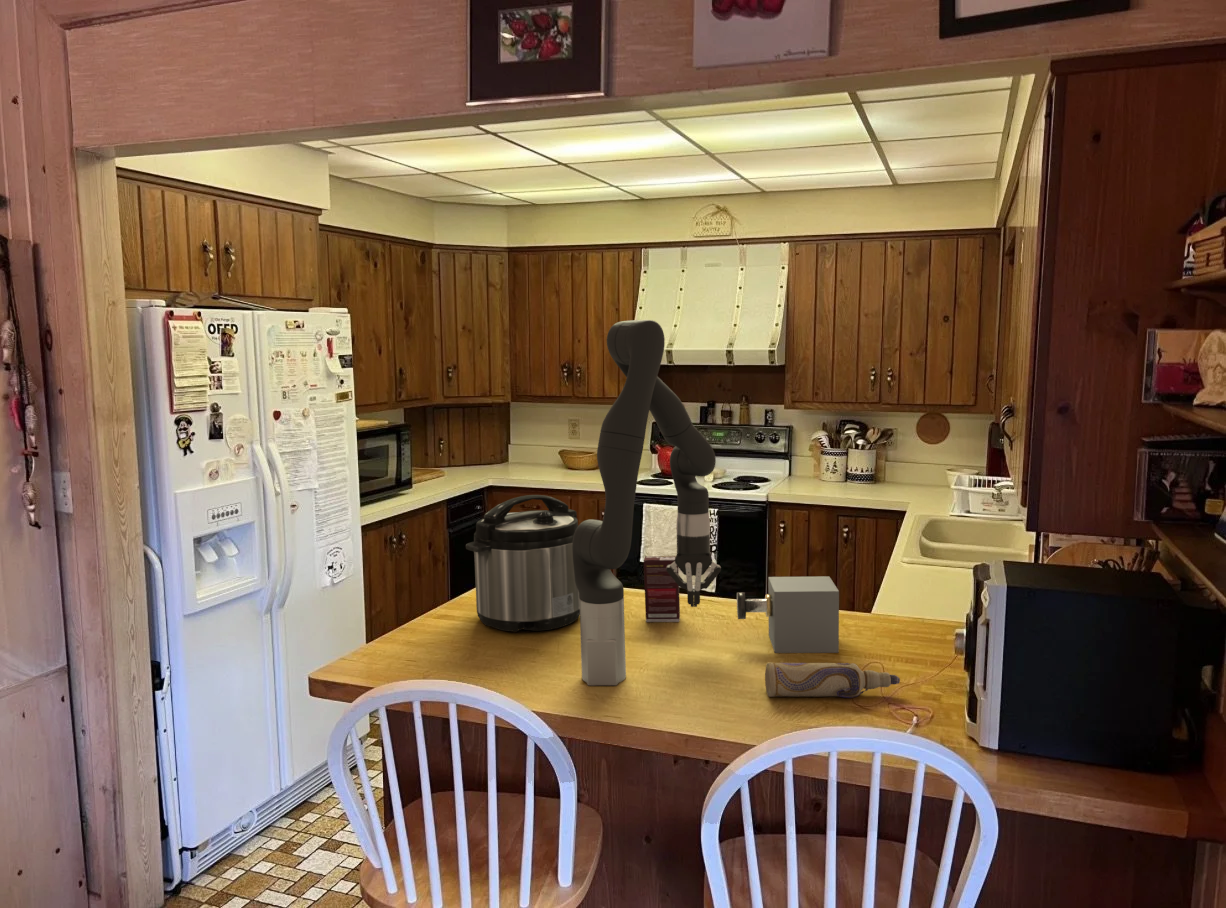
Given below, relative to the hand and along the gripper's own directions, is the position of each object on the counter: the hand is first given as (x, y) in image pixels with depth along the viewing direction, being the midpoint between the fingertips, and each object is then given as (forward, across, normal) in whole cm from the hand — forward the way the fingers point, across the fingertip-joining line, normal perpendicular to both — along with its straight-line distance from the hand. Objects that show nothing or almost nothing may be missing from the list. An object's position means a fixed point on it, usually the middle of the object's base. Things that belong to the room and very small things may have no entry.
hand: (693, 605), depth 204 cm
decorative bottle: (+10, +26, -30) cm, 40 cm away
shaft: (+3, +20, 0) cm, 20 cm away
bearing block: (+9, +25, 0) cm, 26 cm away
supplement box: (+9, -8, +18) cm, 22 cm away
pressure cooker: (+10, -42, +20) cm, 47 cm away
